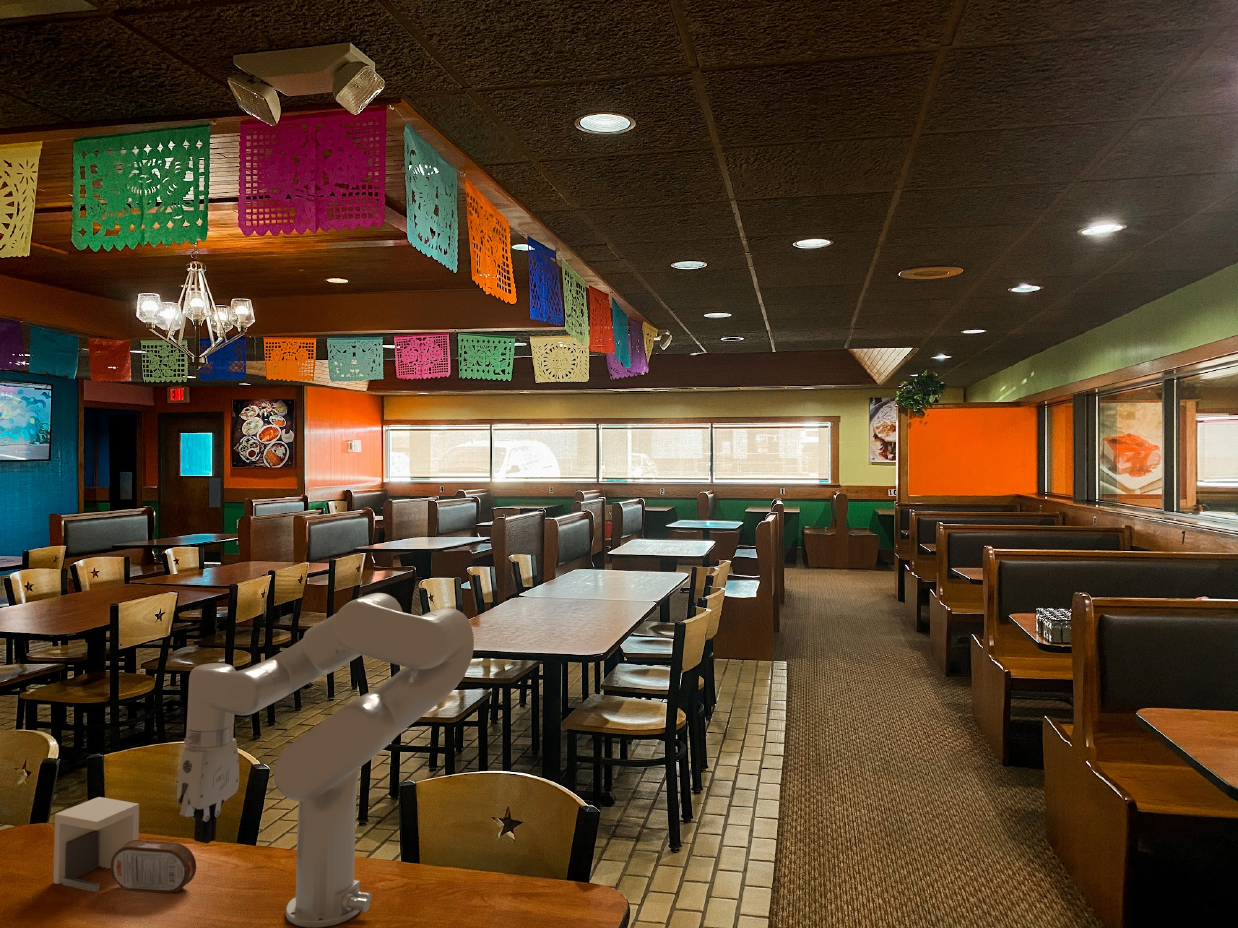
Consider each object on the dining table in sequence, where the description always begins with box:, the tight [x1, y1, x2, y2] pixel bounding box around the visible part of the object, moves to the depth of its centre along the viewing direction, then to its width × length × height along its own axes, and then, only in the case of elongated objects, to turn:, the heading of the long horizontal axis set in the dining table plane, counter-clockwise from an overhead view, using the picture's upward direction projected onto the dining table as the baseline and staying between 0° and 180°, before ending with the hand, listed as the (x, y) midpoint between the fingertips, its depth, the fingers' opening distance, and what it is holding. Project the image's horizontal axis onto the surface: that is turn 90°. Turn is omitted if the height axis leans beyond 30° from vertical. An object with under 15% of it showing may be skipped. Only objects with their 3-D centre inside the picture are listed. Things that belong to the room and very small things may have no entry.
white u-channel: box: [53, 796, 140, 893], centre depth 161 cm, size 10×9×12 cm
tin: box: [110, 839, 197, 894], centre depth 156 cm, size 15×3×8 cm, turn 84°
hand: (204, 840), depth 152 cm, fingers closed
